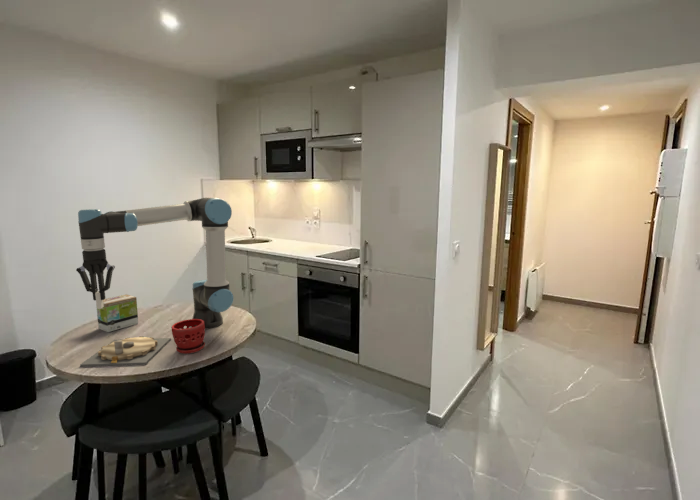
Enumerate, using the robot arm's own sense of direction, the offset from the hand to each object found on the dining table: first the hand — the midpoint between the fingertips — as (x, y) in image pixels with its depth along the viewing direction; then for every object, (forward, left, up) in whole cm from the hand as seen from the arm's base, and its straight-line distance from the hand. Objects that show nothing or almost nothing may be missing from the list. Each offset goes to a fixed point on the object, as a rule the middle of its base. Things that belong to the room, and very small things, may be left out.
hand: (100, 307), depth 152 cm
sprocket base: (-5, -7, -22) cm, 24 cm away
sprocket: (-5, -7, -21) cm, 23 cm away
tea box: (+16, -40, -23) cm, 49 cm away
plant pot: (-30, -8, -23) cm, 39 cm away
